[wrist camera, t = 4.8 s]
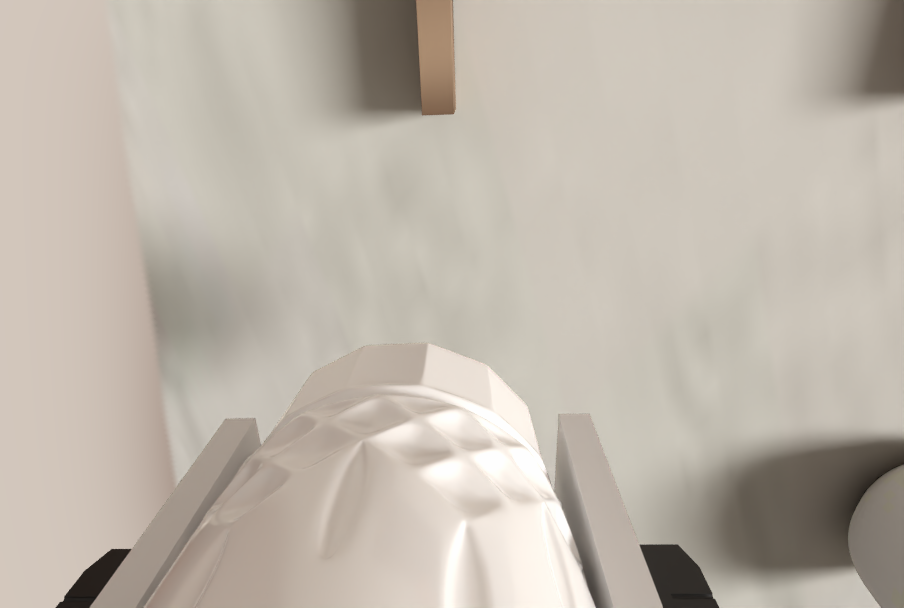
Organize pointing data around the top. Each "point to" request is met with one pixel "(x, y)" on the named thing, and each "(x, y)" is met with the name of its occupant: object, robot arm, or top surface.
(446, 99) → the brown wooden open frame
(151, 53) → the top surface
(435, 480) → the white cup
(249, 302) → the top surface
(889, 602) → the teacup
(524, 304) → the top surface
